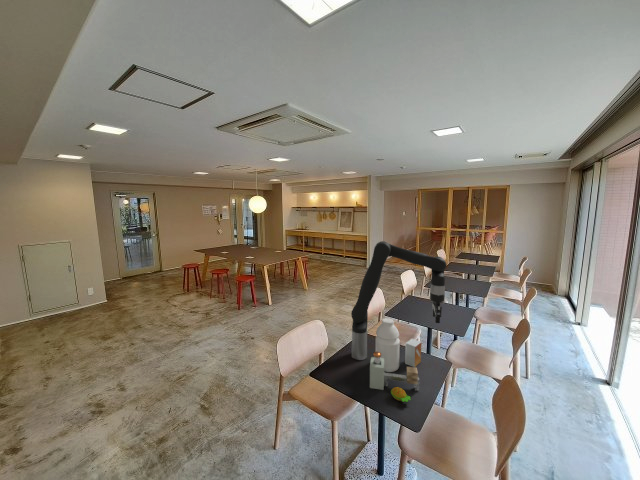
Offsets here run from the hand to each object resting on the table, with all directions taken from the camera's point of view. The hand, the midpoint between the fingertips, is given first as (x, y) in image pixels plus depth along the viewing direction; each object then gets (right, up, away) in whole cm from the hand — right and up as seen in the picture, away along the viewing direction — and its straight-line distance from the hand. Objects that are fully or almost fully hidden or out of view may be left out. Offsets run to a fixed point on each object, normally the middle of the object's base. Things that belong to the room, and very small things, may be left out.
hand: (436, 319), depth 152 cm
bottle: (-27, -29, +6) cm, 40 cm away
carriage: (-19, -27, -15) cm, 36 cm away
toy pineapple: (-27, -33, -23) cm, 48 cm away
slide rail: (-24, -31, -13) cm, 42 cm away
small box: (-11, -29, +8) cm, 31 cm away
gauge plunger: (-36, -23, -11) cm, 44 cm away
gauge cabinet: (-36, -31, -10) cm, 48 cm away
